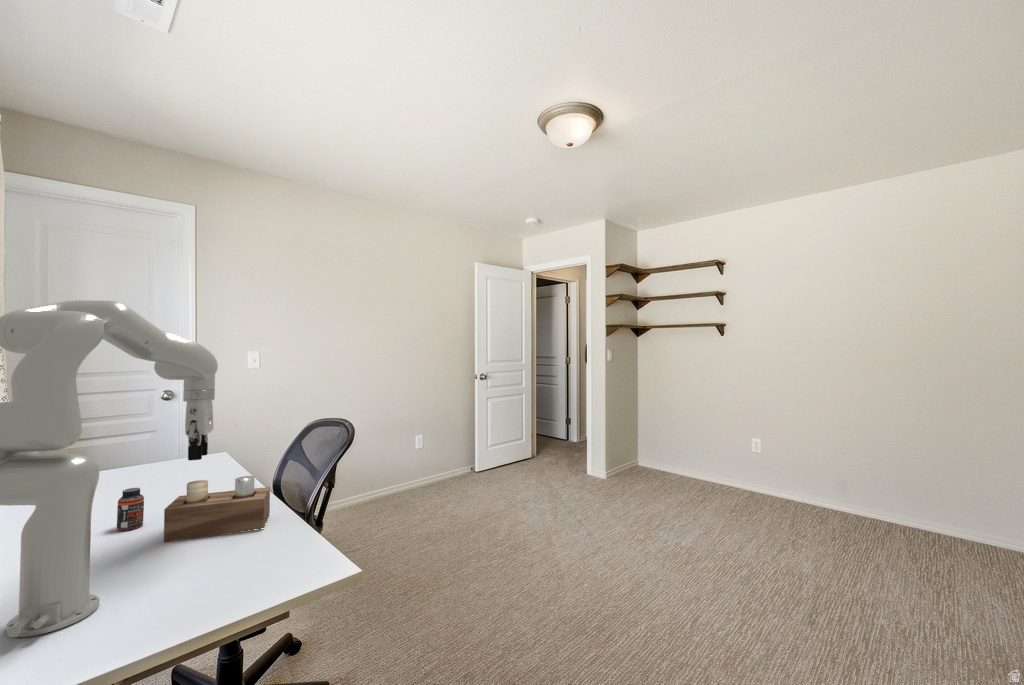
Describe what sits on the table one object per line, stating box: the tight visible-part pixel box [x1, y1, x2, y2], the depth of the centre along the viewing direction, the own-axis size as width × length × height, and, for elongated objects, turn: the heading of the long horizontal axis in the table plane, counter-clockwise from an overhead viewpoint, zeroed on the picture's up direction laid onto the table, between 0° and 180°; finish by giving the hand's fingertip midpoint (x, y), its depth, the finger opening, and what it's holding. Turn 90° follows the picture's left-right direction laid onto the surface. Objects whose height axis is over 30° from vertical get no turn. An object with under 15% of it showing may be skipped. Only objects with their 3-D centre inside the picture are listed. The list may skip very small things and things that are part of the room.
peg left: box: [186, 479, 209, 504], centre depth 127 cm, size 5×5×9 cm
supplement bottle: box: [116, 487, 145, 532], centre depth 129 cm, size 6×6×11 cm
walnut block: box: [163, 486, 271, 543], centre depth 129 cm, size 12×24×9 cm, turn 112°
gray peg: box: [234, 475, 255, 498], centre depth 132 cm, size 5×5×9 cm
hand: (197, 456), depth 128 cm, fingers open, 5 cm apart
